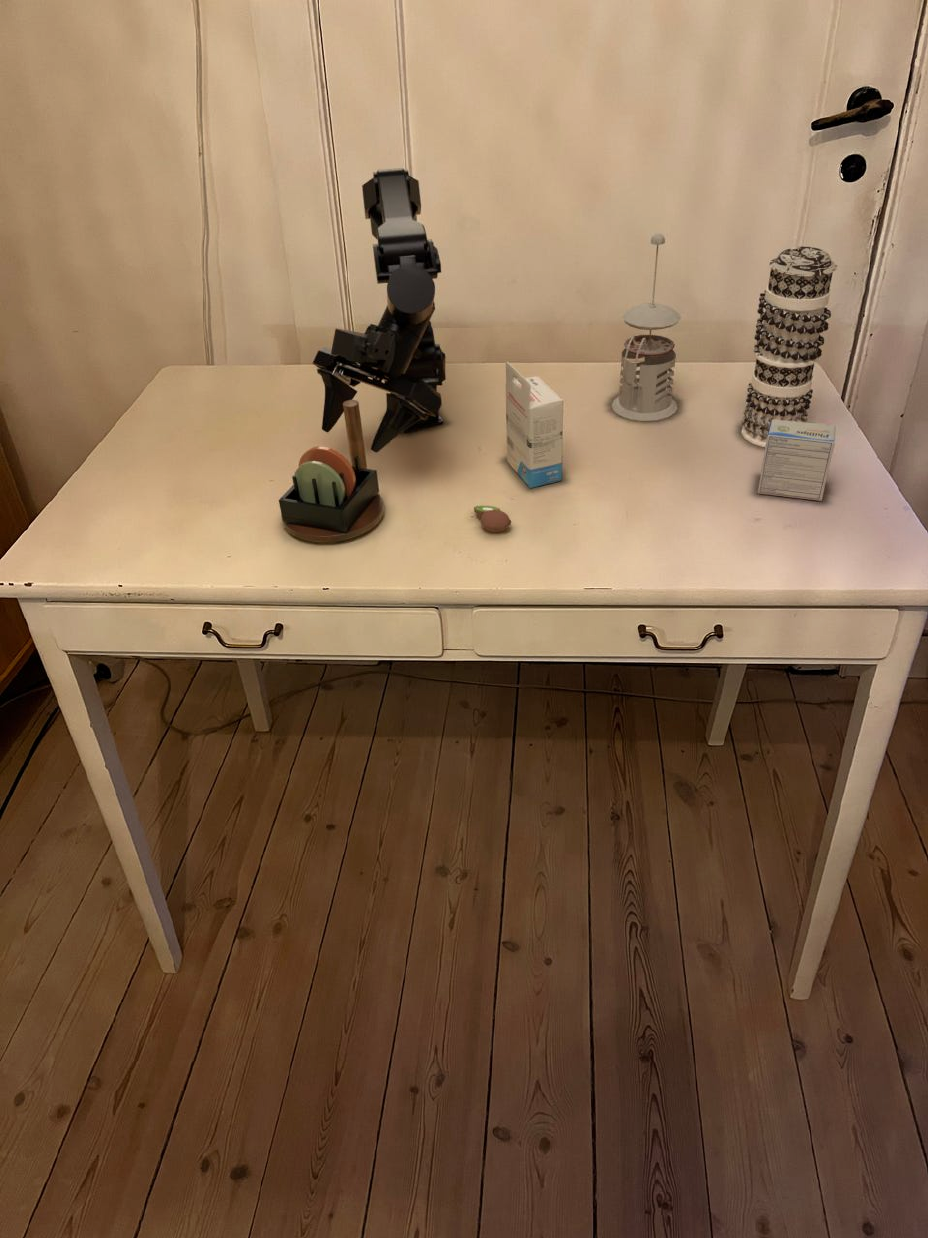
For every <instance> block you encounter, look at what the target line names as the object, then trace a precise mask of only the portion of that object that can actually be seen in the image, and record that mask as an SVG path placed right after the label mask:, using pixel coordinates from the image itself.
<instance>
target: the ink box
mask: <svg viewBox="0 0 928 1238" xmlns="http://www.w3.org/2000/svg"><path fill="white" fill-rule="evenodd" d="M564 402H565V401H564V399H562V397H561V396H559V395H558V394H557V393H556V392H555V391H554V390H553V389H552V388H551V387H550V386H549V385H548V384H547V383H546V382H544V380H542V378H540V376H538V375H536V376H530V377H526V378H525V377H524V376H523V374H521V373H520V372H519V371H518V370H517V369H516V368H515V367H514V366H513V365H512V364H511V363H510V362H509V361H508V360H507V361H506V362H505V419H506V423H505V424H506V426H505V427H506V429H505V430H506V462H507V463H508V464H509V465H510V466H511V468H512V469H513V470H514V472H515V473H516V474H517V475H518V476H519V477H520V478H521V480H522V481H523V482H524V483H525V485H526V486H527V487H528V488H529V489H534V488H536V487H540V486H545V485H549V484H552V483H556V482H557V483H558V482H560V481H561V482H562V480H563V433H564V432H563V430H564V429H563V428H564Z"/></svg>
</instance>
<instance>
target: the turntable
mask: <svg viewBox="0 0 928 1238" xmlns="http://www.w3.org/2000/svg"><path fill="white" fill-rule="evenodd" d="M384 508H385V507H384V500H383V498H382V497H381V495H380V494H379V493H378V494H377V495H376V496H375V497H374V499H373V500H372V501H371V502H370V504H369V505H368V506H367V507H366V508H365V510H364V511H363V512H362V513H361V515H360V516H359V517H358V518H357V520H356V521H355V522H354V523H353V525H352V526H351V527H350V528H349V529H348V531H347V532H340V531H334V530H328V529H322V528H317V527H311V526H305V525H299V524H293V523H287V522H283V519H282V518H281V521H282V525H283V527H284V529H285V530H286V531H287V532H288V533H289V534H290V535H291V536H293V537H296V538H298V539H301V540H304V541H308V542H313V543H314V542H315V543H333V542H340V541H345V540H350V539H353V538H356V537H358V536H360V535H363V534H365V533H367V532H368V531H370V530H372V529H373V528H374V527H375V526H376V525H378V523H379V522H380V521H381V519H382V517H383V515H384V510H385V509H384ZM280 514H281V513H280ZM280 516H281V517H282V514H281V515H280Z"/></svg>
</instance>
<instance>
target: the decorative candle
mask: <svg viewBox="0 0 928 1238" xmlns="http://www.w3.org/2000/svg"><path fill="white" fill-rule="evenodd" d="M769 267H770V273H769V278H768V284H767V286H766V289H765V290H764V292H761V293H759V298H758V302H759V303H758V308H757V310H756V312H757V314H759V317H758V318H757V320H756V325H755V328H756V329H755V335H754V336H753V337H754V340H755V341H756V343H755V344H754V346H753V347H754V349H753V355H754V357H755V358H756V359H755V366H754V370H753V372H752V375H751V382H749V383H748V387H747V390H746V391H747V394H746V398H745V402H746V403H747V404H746V405H745V406H744V410H743V415H744V416H743V418H742V421H741V425H742V427H741V428H742V429H741V433H740V434H741V435H742V437H743V439H745V440H746V441H748V442H750V444H753V445H755V446H758V447H762V448H765V446H766V441H767V435H768V430H769V426H770V421H771V420H773V419H775V420H786V421H796V422H808V416H809V412H808V411H807V410H809V409H810V407H811V404H812V403H811V399H812V398H813V393H814V390H813V388H812V386H813V385H812V384H813V379H814V375H813V372H814V368H815V364H816V363H817V362H818V361H819V360H820V357H821V356H822V352H823V350H822V349H821V348H820V347H821V346H824V344H825V338H824V337H823V336H822V335H821V334H823V332H826V331H827V330H829V322H828V321H827V320H828V319H830V318H831V317H832V311H831V310H830V309H828V308H827V306H828V304H829V301H830V296H831V285H832V279H833V273H834V272H835V271H836V270H837V268H838V264H836V263H835V262H834V261H833V260H832V258H831V256H830V254H829V253H828V252H827V251H826V250H823V249H821V248H818V247H813V246H793V247H788V248H786V249H784V250H782V251H781V252H780V253H779V254H778V255H777V257H775V258H773V259H771V260H770V261H769ZM764 309H765V310H764Z"/></svg>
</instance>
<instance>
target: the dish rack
mask: <svg viewBox="0 0 928 1238" xmlns="http://www.w3.org/2000/svg"><path fill="white" fill-rule="evenodd" d="M343 408H344V412H343V416H344V421H345V429H346V438H347V444H348V451H349V458H350V462H349V460H348V459H347V458H346V457H345V456H344V455H343V454H342V453H341V452H338V451H337V450H335V449H333V448H330V447H327V446H313V447H310V448H309V449H307V450H306V451H304V453H303V454H302V455H301V457H300V459H299V461H298V468H297V469H296V470H295V472H294V474H293V475H292V476H291V478H292V484H293V485H292V486H290V487H289V489H288V490H286V491H285V493H284V494H283V495H282V496H281V497H280V498H279V499H278V505H279V510H280V514H282V516H281V520H282V519H283V521H282V523H283V522H287V523H293V524H299V525H305V526H311V527H317V528H322V529H328V530H334V531H340V532H347V531H348V529H349V528H350V527H351V526H352V525H353V523H354V522H355V521H356V520H357V518H358V517H359V516H360V515H361V513H362V512H363V511H364V510H365V508H366V507H367V506H368V505H369V504H370V502H371V501H372V500H373V499H374V497H375V496H376V495H377V494H379V493H380V487H379V485H380V484H379V478H378V471H377V469H372V468H368V465H367V458H366V457H367V456H366V450H365V441H364V434H363V425H362V419H361V418H362V417H361V411H360V403H359V401H358V400H356V399H352V400H347V401H345V402H344V403H343Z"/></svg>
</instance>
